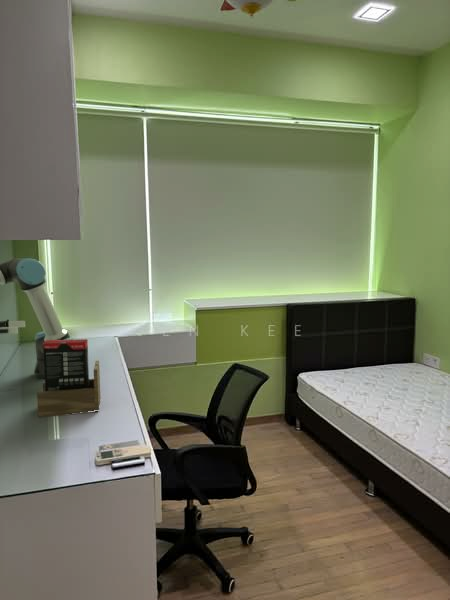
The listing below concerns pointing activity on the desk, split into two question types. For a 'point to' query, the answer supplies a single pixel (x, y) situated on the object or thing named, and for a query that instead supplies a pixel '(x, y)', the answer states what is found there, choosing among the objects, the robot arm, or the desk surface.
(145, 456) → the desk surface
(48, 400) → the walnut shelf slot
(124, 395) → the desk surface
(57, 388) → the graphics card box
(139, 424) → the desk surface
